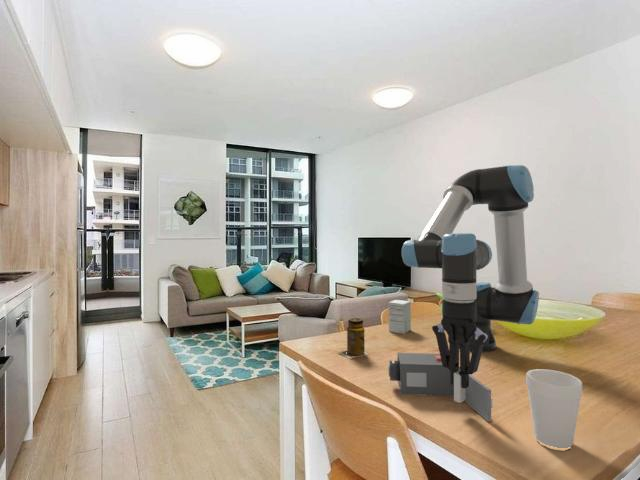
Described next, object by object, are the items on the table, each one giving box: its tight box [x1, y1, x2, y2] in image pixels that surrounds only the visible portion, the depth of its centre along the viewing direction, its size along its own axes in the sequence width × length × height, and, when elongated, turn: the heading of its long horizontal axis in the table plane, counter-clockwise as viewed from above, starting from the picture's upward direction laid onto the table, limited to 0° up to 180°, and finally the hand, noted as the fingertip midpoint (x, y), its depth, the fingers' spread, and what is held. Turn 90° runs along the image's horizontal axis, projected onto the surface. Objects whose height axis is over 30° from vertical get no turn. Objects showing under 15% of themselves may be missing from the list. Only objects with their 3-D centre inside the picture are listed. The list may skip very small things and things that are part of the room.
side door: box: [458, 368, 494, 422], centre depth 89 cm, size 14×2×7 cm, turn 7°
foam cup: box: [525, 368, 583, 448], centre depth 74 cm, size 10×9×13 cm
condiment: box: [337, 317, 370, 359], centre depth 130 cm, size 7×8×12 cm
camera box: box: [388, 352, 454, 397], centre depth 101 cm, size 17×9×9 cm, turn 84°
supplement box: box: [388, 299, 412, 335], centre depth 159 cm, size 7×7×13 cm
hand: (459, 399), depth 87 cm, fingers closed
